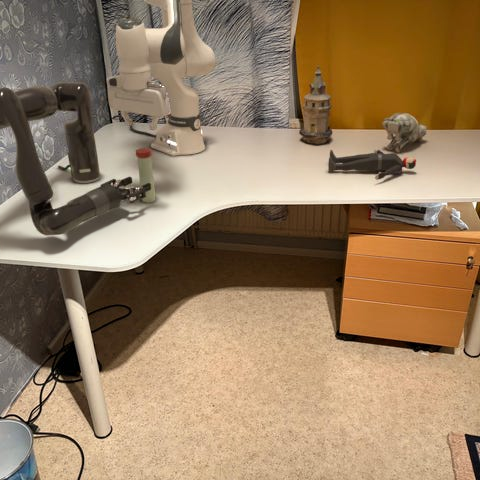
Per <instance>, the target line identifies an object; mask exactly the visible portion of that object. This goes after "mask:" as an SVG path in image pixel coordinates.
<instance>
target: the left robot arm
mask: <svg viewBox="0 0 480 480" xmlns="http://www.w3.org/2000/svg"><path fill="white" fill-rule="evenodd" d="M92 110H93V109H92V97H91V91H90V89H89V86H88V85H87V84H86V83H85V82H80V81H79V82H77V81H75V82H73V81H72V82H71V81H61V82H57V83H54V84H53V85H50V86H44V85H36V86H35V85H34V86H29V87H25V88H22V89H18V90H16V91H14V90H13V89H11V88H9V87H7V86H6V87H5V86H2V87H0V130H3V129H7V128H9V127H10V128H11V131H12V133H13V136H14V139H15V149H16V152H15V154H16V155H15V176H16V179H17V182H18V184H19V186H20V189H21V190H22V193H23V195H24V197H25V198H26V200H27V204H28V209H29V214H30V217H31V221H32V224H33V226H34V228H35V229H36V231H37V232H38V233H39V234H41V235H43V236H59V235H64V234H66V233H68V232H70V231H72V230H73V229H75V228H76V227H78V226H79V225H81V224H82V223H86V222H87V221H89V220H92V219H94V218H96V217H100V216H102V215H104V214H106V213H108V212H111V211H112V210H115V209H116V208H119V206H120V205H121V203H122V202H123V201H126V200H128V201H129V203H130V204H133V203H136V202H138V201H141V200H142V199H143V198H145V197H146V192H147V191H149V190H151V183H147V184H145V185H142V186H134V185H131V184H133V177H132V176H127V177H125V178H122V179H116V178H112V179H110V180H108V181H106V182H103V183H101V184H100V186H98V187H96V188H93V189H91V190H89V191H87V192H85V193H84V194H81V195H80V196H77V197H74V198H73V199H71V200H69V201H68V202H67V203H66V204H64V205H62V206H59V207H56V208H54V207H53V205H52V201H51V200H52V198H53V197H54V190H53V187H52V186H51V183H50V181H49V178H48V176H47V175H46V173H45V169H44V167H43V165H42V162H41V160H40V157H39V154H38V151H37V147H36V144H35V140H34V137H33V133H32V130H31V127H30V124H29V123H30V122H34V121H40V120H45V119H48V118H50V117H52V116H54V114H56V112H57V111H61V112H76V115H77V117H76V118H73V119H70V120H68V121H66V122H65V123H64V125H63V128H64V135H65V139H66V144H67V151H68V152H67V159H68V164H67V165H66V166H65V167H63V166H62V165H57V168H58V169H60V170H62V171H67V170H68V169H69V170H70V175H71V178H72V180H73V182H75V183H78V184H90V183H94V182H97V181H99V180H100V179H101V177H102V176H101V171H100V163H99V158H98V151H97V144H96V139H95V138H96V137H95V132H94V119H93V118H94V117H93V111H92ZM129 185H131V186H129ZM131 191H132V192H131Z"/></svg>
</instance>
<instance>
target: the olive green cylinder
mask: <svg viewBox="0 0 480 480" xmlns="http://www.w3.org/2000/svg"><path fill="white" fill-rule="evenodd" d="M136 159H137V168H138V169H137V170H138V178H139V185H140V186H139V187H141V186H142V185H145V184H147V183H151V190H149V191H147V192H146V197H145V198H143V199H141V201H142V202H143V203H152V202H155V200H156V191H155V183H154V173H153V162H152V155H151V156H150V157H147V158H139V157H137V156H136Z"/></svg>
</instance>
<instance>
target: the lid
mask: <svg viewBox="0 0 480 480" xmlns="http://www.w3.org/2000/svg"><path fill="white" fill-rule="evenodd" d="M152 155H153V154H152V149H151V148H149V147H141V148H137V149H136V150H135V157H136V158H137V157H139V158H147V157H150V156H151V157H152Z"/></svg>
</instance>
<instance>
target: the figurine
mask: <svg viewBox="0 0 480 480" xmlns="http://www.w3.org/2000/svg"><path fill="white" fill-rule="evenodd" d="M381 126H382V127H383V129H384V130H385V131H386V132H387V137H386V140H389V141H390V143H389V144H388V145H387V146H386V149H387V150H388V151H393V149H394V146H395V145H396V144H397V143H398V144H397V146H396V147H395V152H396V153H401V151H402V148H403V147H404V146H405V145H406V144H407V143H414V142H423V138H424V137H425V136H426V135H427V130H428V128H427V126H426V125H423V124H419V122H418V120H417V119H416V118H415V117H414V116H413V115H412V114H410V113H405V112H397V113H394V114H392V115H391V116H390V117H385V118H384V119H383V121H382V122H381Z"/></svg>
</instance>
